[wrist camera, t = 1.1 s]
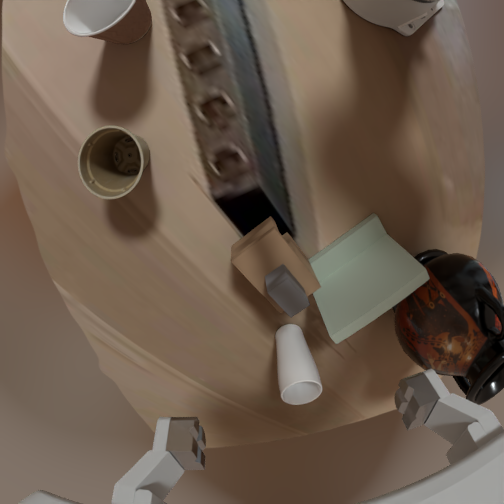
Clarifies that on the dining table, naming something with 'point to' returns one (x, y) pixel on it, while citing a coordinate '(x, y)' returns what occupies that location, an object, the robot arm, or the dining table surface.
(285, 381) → the drinking glass
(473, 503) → the robot arm
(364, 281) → the board
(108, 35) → the coffee cup
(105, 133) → the flower pot
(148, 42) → the dining table surface
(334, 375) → the dining table surface
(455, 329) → the amphora vase
